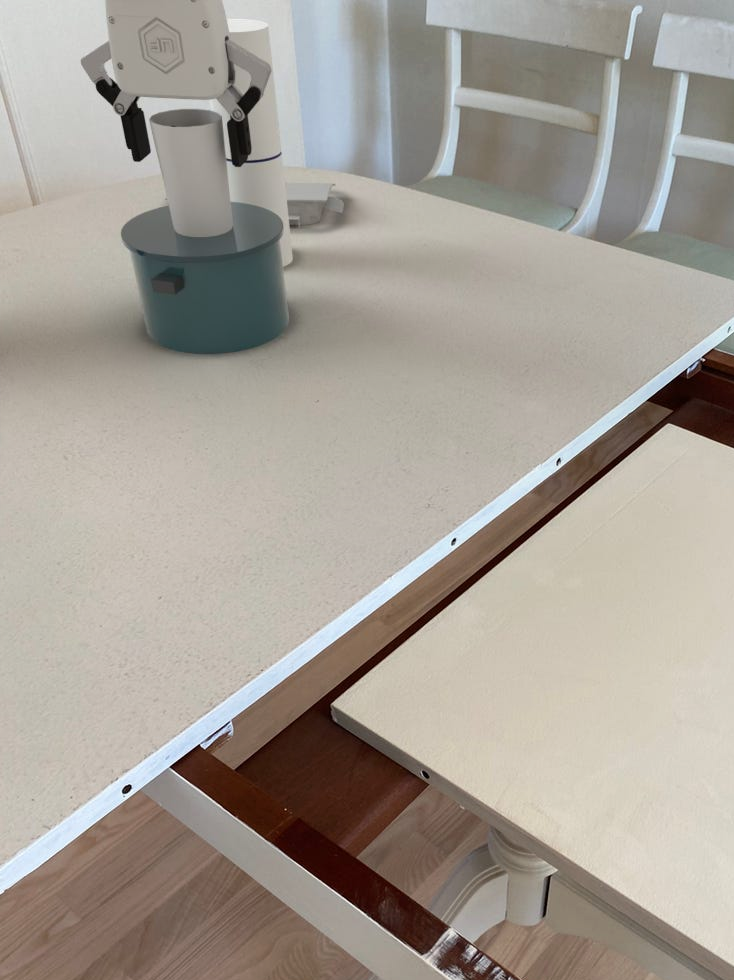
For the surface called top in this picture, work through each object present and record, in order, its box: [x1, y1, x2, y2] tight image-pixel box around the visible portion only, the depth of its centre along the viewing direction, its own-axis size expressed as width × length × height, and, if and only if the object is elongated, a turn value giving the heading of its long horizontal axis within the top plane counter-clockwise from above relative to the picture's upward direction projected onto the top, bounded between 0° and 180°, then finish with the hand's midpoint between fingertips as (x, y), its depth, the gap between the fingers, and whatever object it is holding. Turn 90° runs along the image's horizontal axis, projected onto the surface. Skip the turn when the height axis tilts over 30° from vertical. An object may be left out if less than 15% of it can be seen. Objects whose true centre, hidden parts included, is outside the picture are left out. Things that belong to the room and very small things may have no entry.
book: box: [164, 182, 345, 230], centre depth 130 cm, size 15×23×4 cm, turn 92°
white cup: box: [148, 108, 233, 237], centre depth 95 cm, size 7×7×10 cm
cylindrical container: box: [209, 18, 294, 268], centre depth 110 cm, size 7×7×25 cm
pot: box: [120, 202, 290, 355], centre depth 101 cm, size 16×19×11 cm
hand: (191, 160), depth 94 cm, fingers open, 9 cm apart
